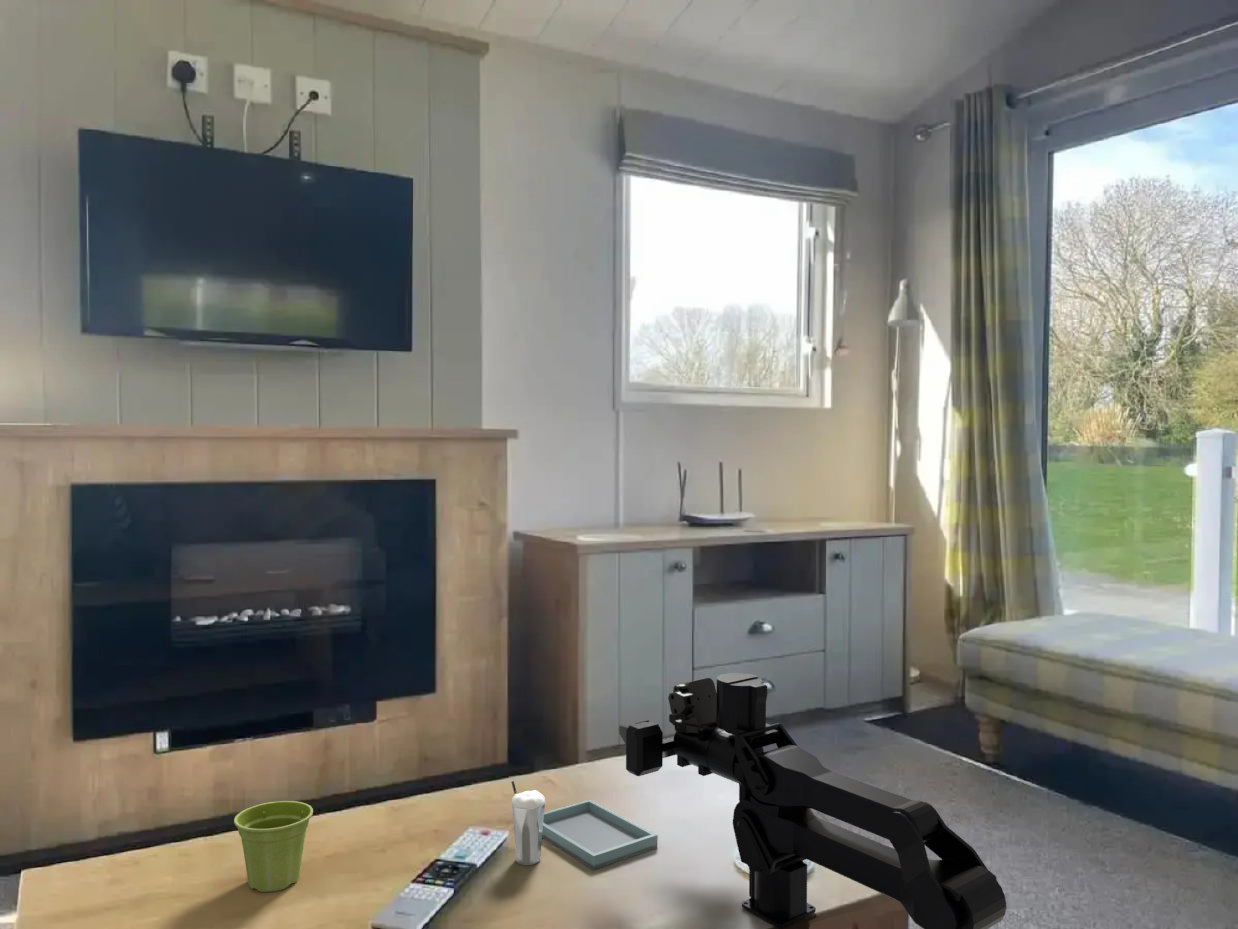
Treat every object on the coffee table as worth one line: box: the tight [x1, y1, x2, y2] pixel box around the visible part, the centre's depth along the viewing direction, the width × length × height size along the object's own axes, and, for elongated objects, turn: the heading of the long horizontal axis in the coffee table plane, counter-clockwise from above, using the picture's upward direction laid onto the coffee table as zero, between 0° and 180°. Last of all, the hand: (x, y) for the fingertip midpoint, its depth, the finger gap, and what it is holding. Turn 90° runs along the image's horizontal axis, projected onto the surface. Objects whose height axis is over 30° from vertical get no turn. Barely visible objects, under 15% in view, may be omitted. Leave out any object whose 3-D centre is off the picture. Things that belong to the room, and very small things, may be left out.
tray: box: [542, 799, 659, 870], centre depth 131 cm, size 16×11×2 cm
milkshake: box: [510, 780, 546, 866], centre depth 124 cm, size 4×5×10 cm
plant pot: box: [233, 800, 314, 893], centre depth 117 cm, size 9×9×9 cm
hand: (645, 723), depth 130 cm, fingers open, 9 cm apart
